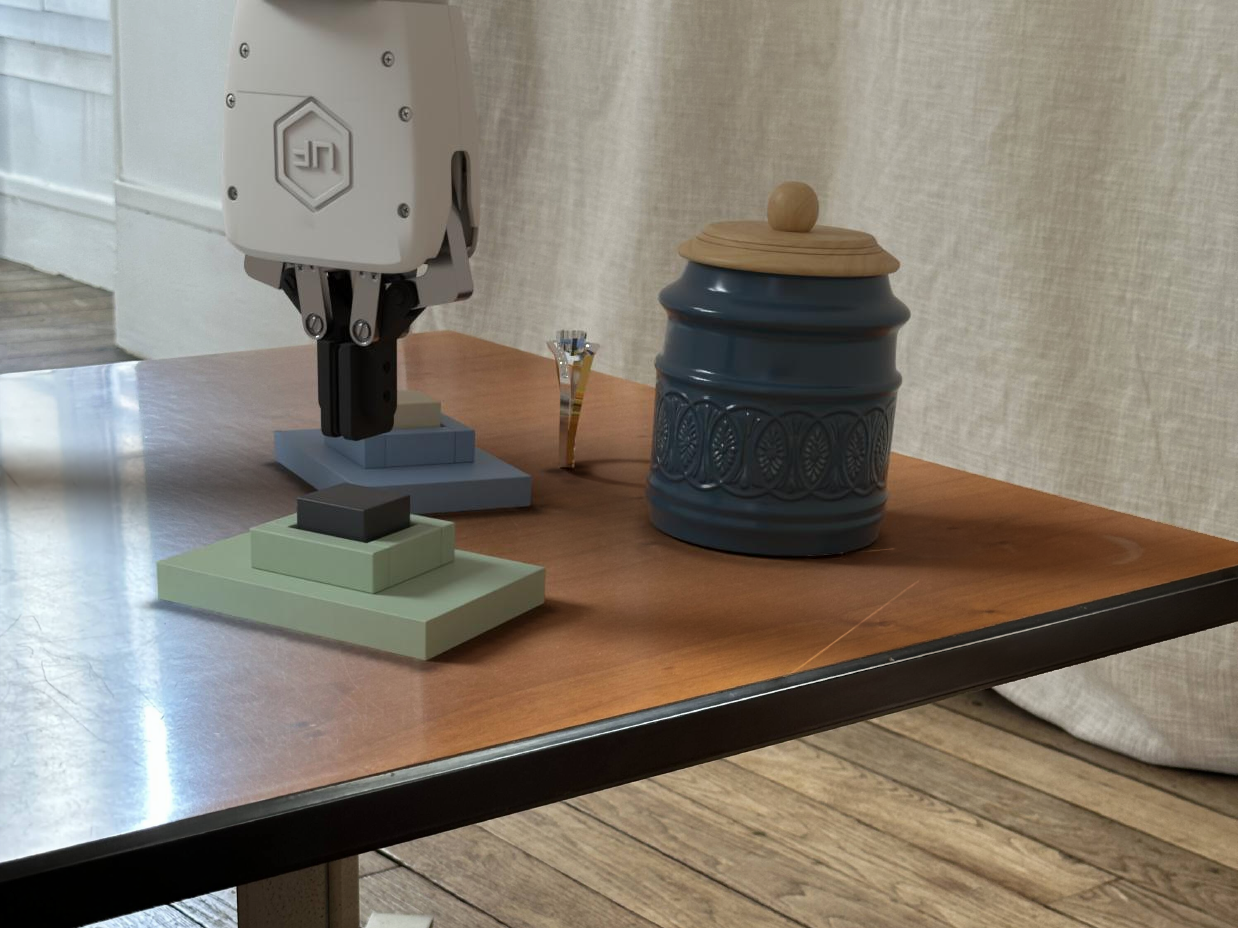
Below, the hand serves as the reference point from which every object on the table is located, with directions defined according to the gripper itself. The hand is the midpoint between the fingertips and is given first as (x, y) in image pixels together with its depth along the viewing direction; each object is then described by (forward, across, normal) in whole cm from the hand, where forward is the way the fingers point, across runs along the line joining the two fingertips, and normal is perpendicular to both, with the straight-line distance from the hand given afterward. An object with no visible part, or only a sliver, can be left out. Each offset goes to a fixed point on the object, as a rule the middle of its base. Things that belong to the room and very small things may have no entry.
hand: (358, 432), depth 76 cm
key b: (+4, -11, +20) cm, 23 cm away
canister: (+8, +10, +24) cm, 27 cm away
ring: (+8, -6, +30) cm, 31 cm away
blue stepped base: (+8, -11, +20) cm, 24 cm away
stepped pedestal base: (+8, 0, 0) cm, 8 cm away
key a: (+5, 0, 0) cm, 5 cm away
